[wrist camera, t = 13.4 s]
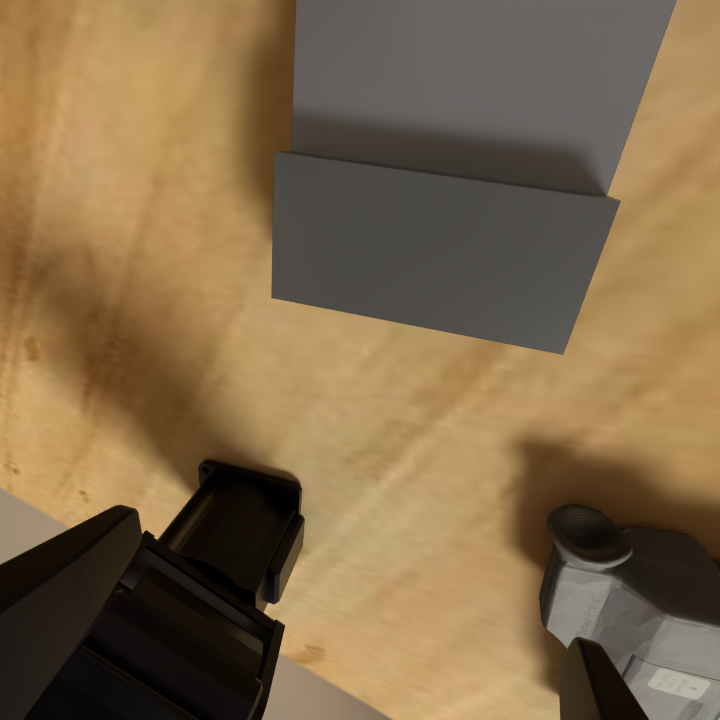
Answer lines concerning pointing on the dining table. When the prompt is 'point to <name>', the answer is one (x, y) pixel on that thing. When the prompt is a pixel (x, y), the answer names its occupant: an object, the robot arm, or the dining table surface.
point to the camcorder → (638, 608)
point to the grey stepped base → (458, 158)
